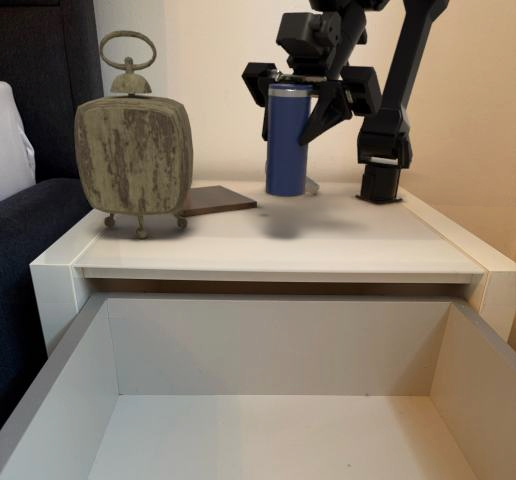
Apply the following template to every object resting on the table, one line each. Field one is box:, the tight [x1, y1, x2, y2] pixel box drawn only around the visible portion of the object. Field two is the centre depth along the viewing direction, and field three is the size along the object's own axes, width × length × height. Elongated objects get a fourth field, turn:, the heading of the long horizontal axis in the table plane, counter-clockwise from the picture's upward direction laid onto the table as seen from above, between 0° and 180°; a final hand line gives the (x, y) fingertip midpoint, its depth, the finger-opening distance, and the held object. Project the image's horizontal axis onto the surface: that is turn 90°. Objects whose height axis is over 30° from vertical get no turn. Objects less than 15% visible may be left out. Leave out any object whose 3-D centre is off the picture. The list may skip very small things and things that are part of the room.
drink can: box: [265, 84, 313, 198], centre depth 65 cm, size 6×6×13 cm
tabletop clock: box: [73, 29, 194, 240], centre depth 66 cm, size 14×9×25 cm, turn 92°
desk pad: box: [177, 184, 258, 217], centre depth 89 cm, size 14×14×1 cm
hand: (281, 141), depth 64 cm, fingers closed on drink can, 5 cm apart
